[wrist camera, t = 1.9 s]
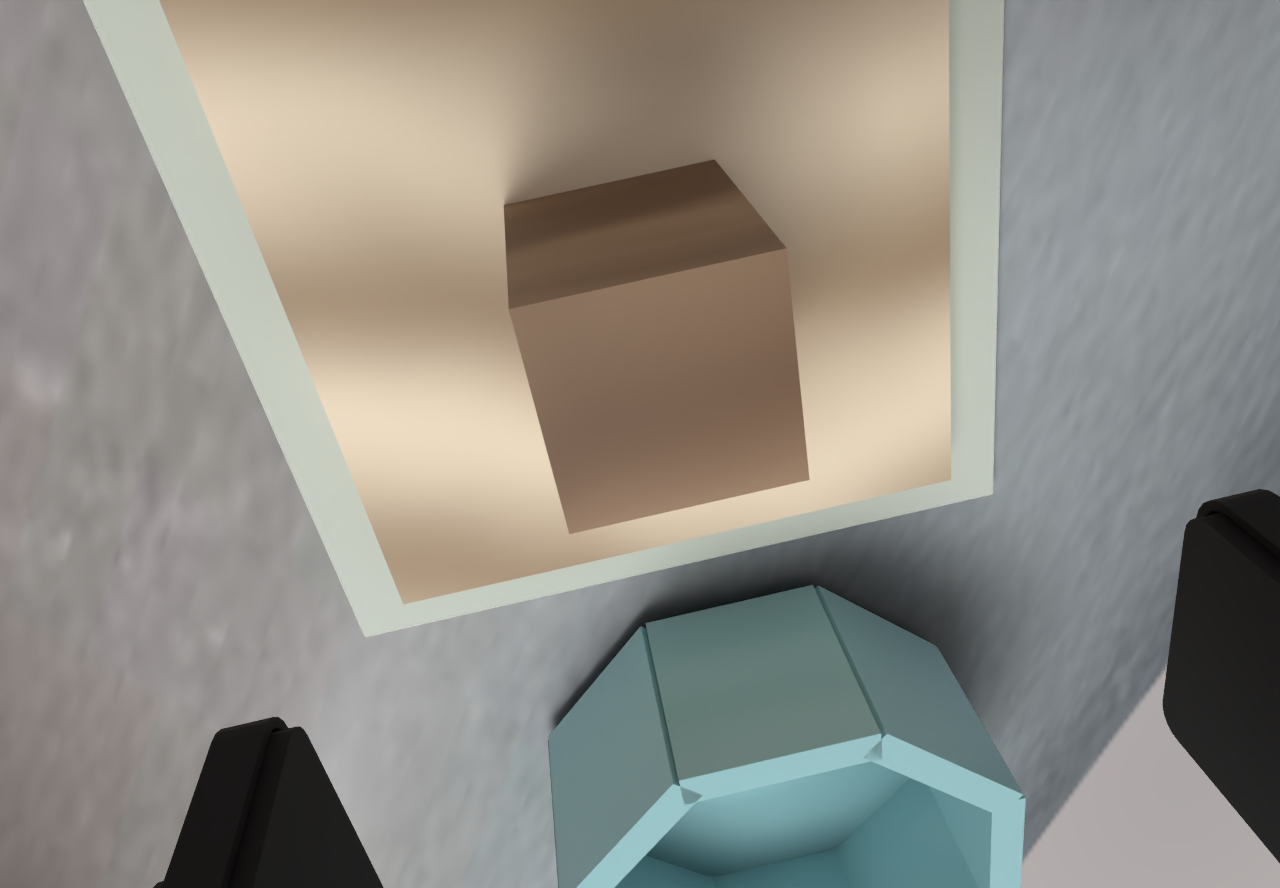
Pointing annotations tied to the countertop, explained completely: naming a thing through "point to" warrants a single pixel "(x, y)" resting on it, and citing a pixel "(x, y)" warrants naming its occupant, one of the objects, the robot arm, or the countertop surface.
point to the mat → (299, 419)
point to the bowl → (781, 759)
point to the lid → (597, 258)
